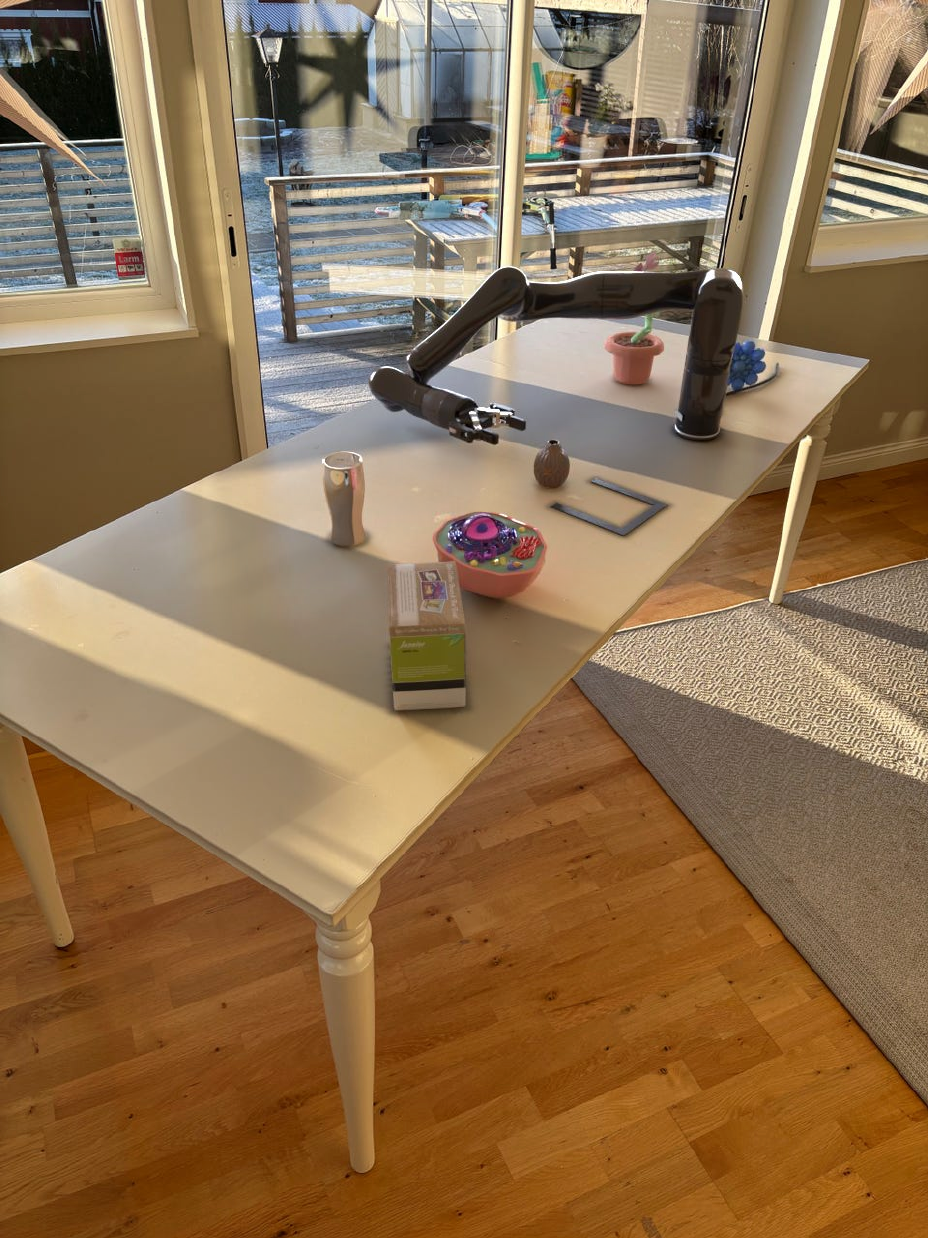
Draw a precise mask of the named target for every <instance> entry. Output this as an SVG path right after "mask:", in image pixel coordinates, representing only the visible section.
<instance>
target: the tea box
mask: <svg viewBox="0 0 928 1238" xmlns="http://www.w3.org/2000/svg"><path fill="white" fill-rule="evenodd" d="M387 604H388V605H387V607H388V608H387V609H388V611H387V612H388V635H389V636H388V637H389V652H390V653H389V654H390V666H391V670H390V671H391V683H392V685H391V686H392V695H393V696H392V697H393V699H392V700H393V708H394V710H395V711H397V712H398V711H415V710H433V709H436V710H437V709H451V708H452V709H453V708H463V707H465V706H466V621H465V614H464V607H463V601H462V594H461V589H460V586H459V579H458V572H457V566H456V562H455V561H449V562H439V561H433V562H418V563H417V562H416V563H395V564H390V563H388V564H387Z"/></svg>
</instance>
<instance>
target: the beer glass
mask: <svg viewBox="0 0 928 1238" xmlns="http://www.w3.org/2000/svg"><path fill="white" fill-rule="evenodd" d="M365 480H366V479H365V471H364V464H363V458H362V456H361V455H360V454H358V453H355V452H352V451H336V452H335V451H334V452H331V453H329V454H327V455H326V456H324V457H323V458H322V487H323V493H324V497H325V502H326V505H327V509H328V513H329V516H330V520H331V521H330V522H331V530H330V541H331V543H332V544H334V545H336V546H338V547H343V548H351V547H355V546H358V545H361V544H362V543H363V542H364V541H365V540H366V532H365V528H364V524H363V511H364V510H363V509H364V503H365V494H366V493H365V492H366V481H365Z"/></svg>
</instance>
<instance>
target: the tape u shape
mask: <svg viewBox="0 0 928 1238" xmlns="http://www.w3.org/2000/svg"><path fill="white" fill-rule="evenodd" d="M590 483H591V484H594V485H597V486H600V487H603V488H605V489H608V490H611V491H614V492H616V493H619V494H621V495H624V496H627V497H630V498H632V499H635V500H638V501H640V502H643V503H646V504H648V505H651V507H649V508H648V509H646V510H645V511H644V512H642V513H641V514H639V515H638V516H636V517H635V518H633V519H632V520H630V521H629V522H628V523H626V524H625V525H623V526H622V527H619V526H617V525H614V524H611V523H609V522H607V521H604V520H601V519H599V518H596V517H594V516H592V515H590V514H589V515H588V514H586V513H583V512H581V511H579V510H576V509H574V508H571V507H568V506H566V505H564V504H561V503H558V502H555V503H554V504H552V505H550V508H551V509H555V510H557V511H559V512H562V513H565V514H567V515H569V516H572V517H574V518H577V519H579V520H582V521H584V522H587V523H589V524H592V525H594V526H596V527H599V528H602V529H604V530H607V531H610V532H612V533H615V534H618V535H619V536H622V537H625V536H627V535H628V534H629V533H631V532H632V531H633V530H635V529H636V528H638V527H639V526H641V525H642V524H643V523H645V522H646V521H648V520H649V519H651V518H652V517H653V516H655V515H656V514H658V513H659V512H660V511H662V510H663V509H664V508H666V507H667V506H669V504H668V503H665V502H662V501H660V500H657V499H654V498H651V497H650V496H649V497H648V496H645V495H643V494H640V493H638V492H635V491H632V490H631V489H627V488H624V487H622V486H619V485H616V484H613V483H611V482H608V481H605V480H602V479H601V478H600V479H599V478H597V477H596V478H594V479H592V480H591V481H590Z"/></svg>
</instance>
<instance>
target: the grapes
mask: <svg viewBox="0 0 928 1238" xmlns="http://www.w3.org/2000/svg"><path fill="white" fill-rule="evenodd" d="M765 356H766V351H765V349H764V348H762V347H758V348H756V344H755V342H754V341H752V340H746V341H745V342H743V344H742V343H740V342H737V341H736V344H735V347H734V352H733V357H732V362H731V368H730V374H729V379H728V385H727V387H729V386H730V387H731V389H732V391H734V390H737V389H740V388H743V387H745V385H746V386H751V385H754V384H757V383H758V380H759V375H760V374H762V373H764V371H765V370H766V368H767V364H766V362H765V361H764V360H763V359H764V358H765Z"/></svg>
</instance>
